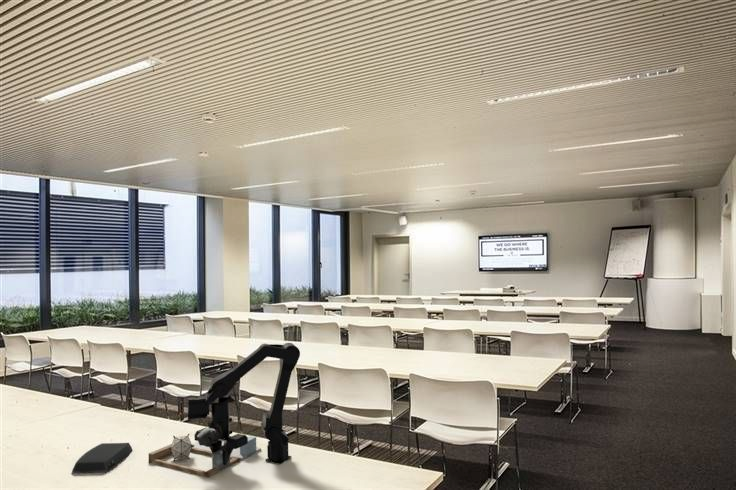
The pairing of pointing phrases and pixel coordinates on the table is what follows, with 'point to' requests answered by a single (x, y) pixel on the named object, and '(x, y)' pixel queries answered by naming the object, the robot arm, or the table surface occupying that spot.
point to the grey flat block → (240, 452)
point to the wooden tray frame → (216, 468)
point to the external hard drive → (102, 458)
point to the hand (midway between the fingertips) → (221, 463)
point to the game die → (181, 447)
